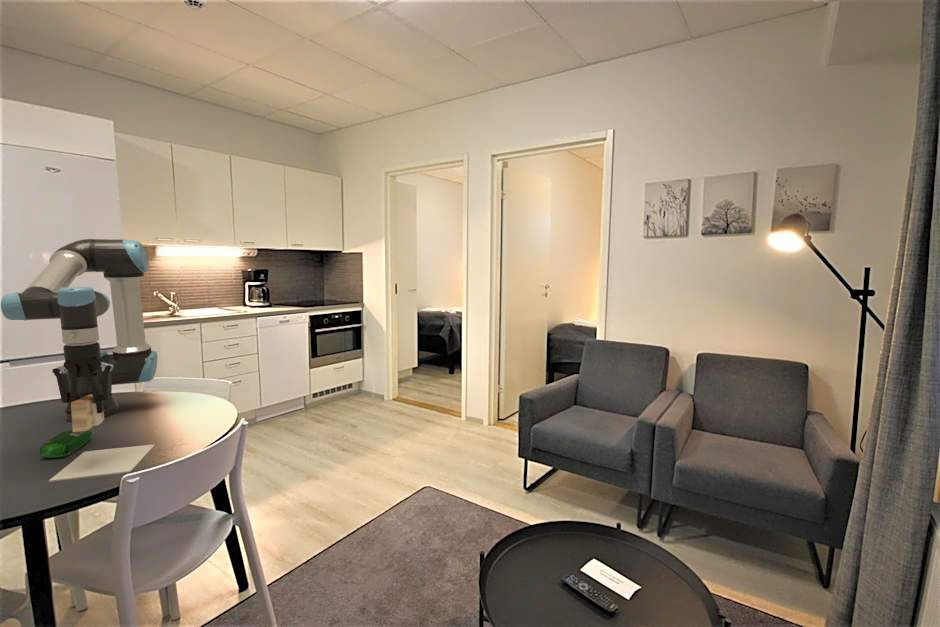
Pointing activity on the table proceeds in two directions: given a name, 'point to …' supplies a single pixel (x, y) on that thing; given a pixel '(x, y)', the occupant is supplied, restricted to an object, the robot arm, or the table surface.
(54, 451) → the snack package
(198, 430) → the table surface
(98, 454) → the cream board
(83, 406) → the oak slab
